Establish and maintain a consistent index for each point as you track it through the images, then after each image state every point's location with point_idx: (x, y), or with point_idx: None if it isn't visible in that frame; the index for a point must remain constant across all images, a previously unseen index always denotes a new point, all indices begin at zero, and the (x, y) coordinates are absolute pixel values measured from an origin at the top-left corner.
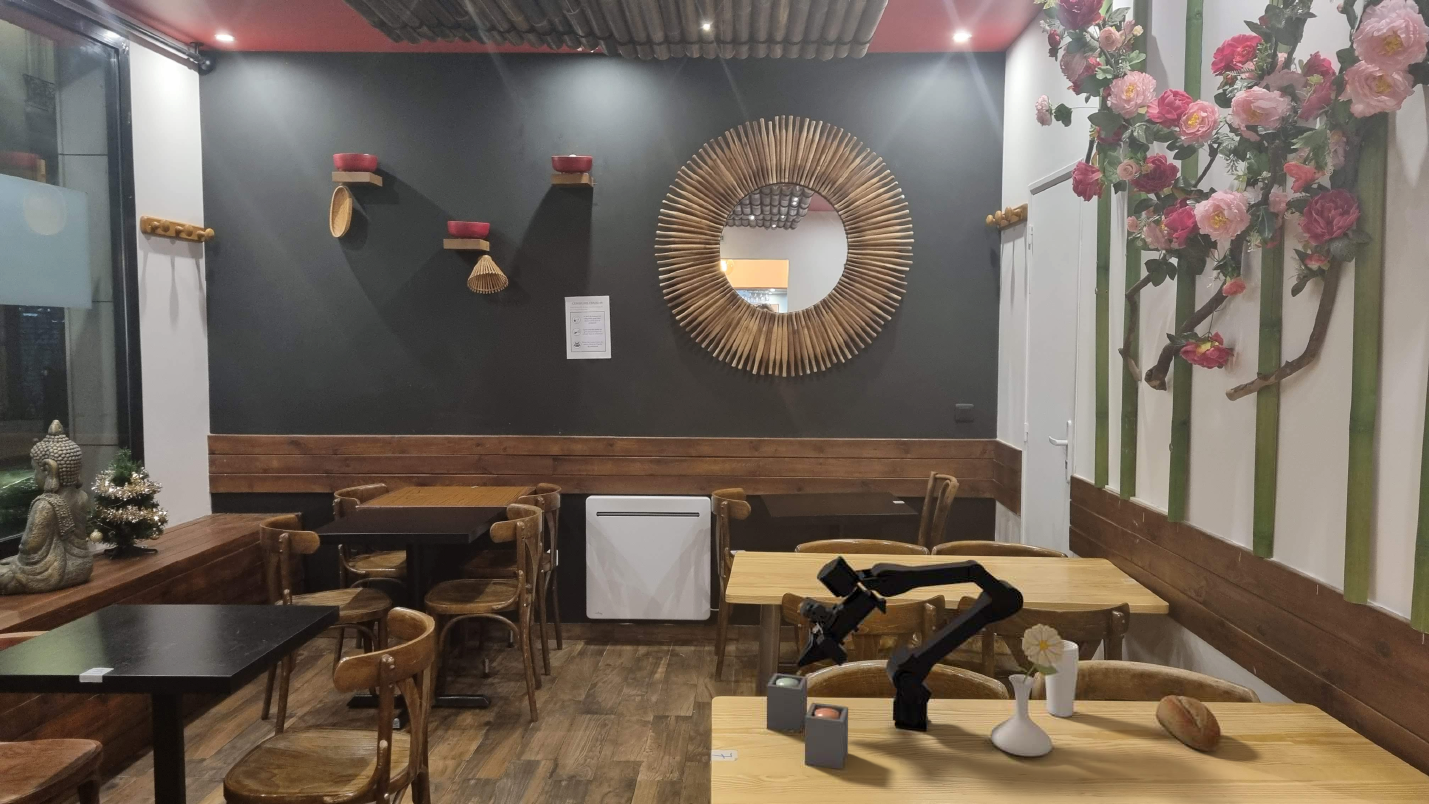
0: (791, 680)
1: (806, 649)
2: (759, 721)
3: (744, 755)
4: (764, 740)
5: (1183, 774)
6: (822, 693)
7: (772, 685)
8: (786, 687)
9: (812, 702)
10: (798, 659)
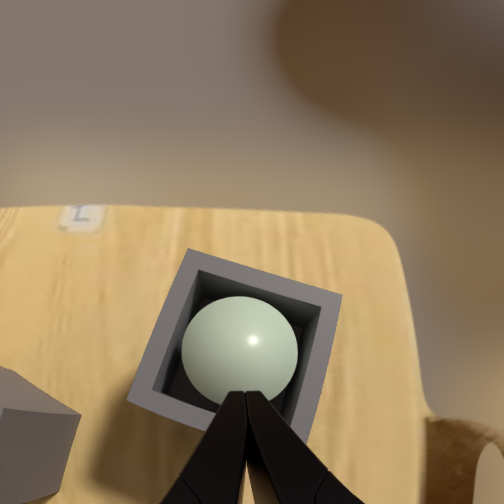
0: (266, 374)
1: (233, 494)
2: None
3: (70, 245)
4: (131, 297)
5: None
6: (442, 467)
7: (187, 272)
8: (155, 334)
9: (3, 408)
10: (251, 407)
